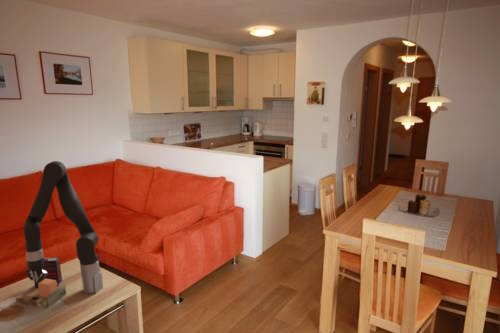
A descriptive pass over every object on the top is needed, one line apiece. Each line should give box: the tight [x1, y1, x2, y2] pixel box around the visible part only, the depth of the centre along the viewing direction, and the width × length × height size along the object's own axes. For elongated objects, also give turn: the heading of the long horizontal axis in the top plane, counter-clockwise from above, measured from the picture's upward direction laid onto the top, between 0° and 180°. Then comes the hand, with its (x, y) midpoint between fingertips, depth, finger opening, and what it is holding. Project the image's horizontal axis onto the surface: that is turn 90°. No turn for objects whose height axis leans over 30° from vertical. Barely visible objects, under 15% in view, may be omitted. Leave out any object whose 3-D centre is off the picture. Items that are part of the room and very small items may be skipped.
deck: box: [15, 283, 67, 308], centre depth 173 cm, size 20×12×6 cm, turn 78°
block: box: [38, 279, 58, 298], centre depth 170 cm, size 7×4×8 cm, turn 78°
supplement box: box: [43, 256, 63, 287], centre depth 185 cm, size 9×5×16 cm, turn 99°
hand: (38, 287), depth 172 cm, fingers closed
